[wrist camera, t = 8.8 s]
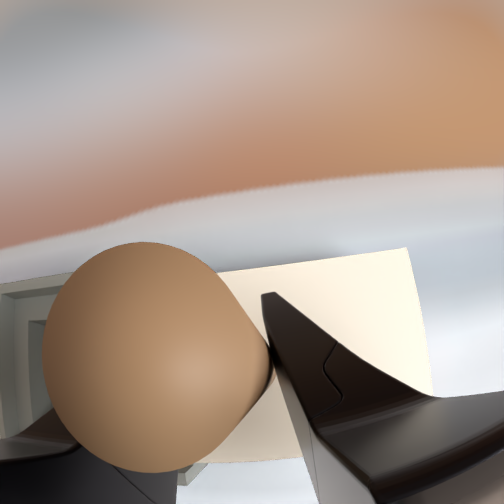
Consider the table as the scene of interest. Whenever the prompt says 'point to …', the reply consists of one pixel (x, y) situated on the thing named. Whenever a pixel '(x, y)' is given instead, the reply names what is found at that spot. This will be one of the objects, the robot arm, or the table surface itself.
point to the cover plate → (347, 317)
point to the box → (33, 357)
